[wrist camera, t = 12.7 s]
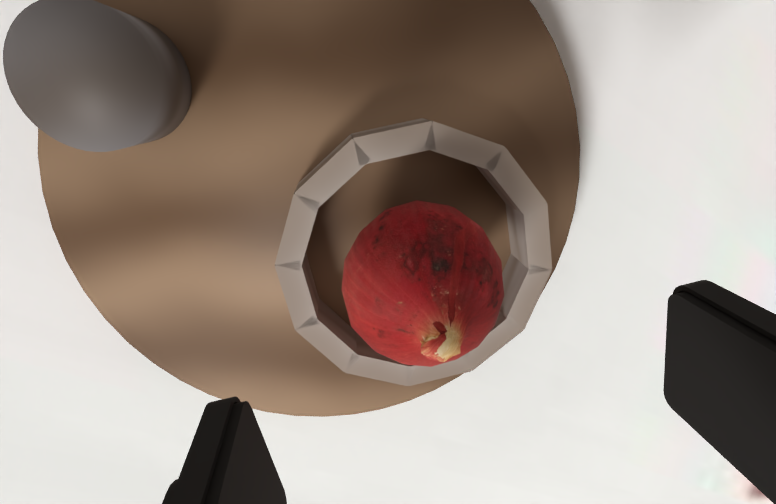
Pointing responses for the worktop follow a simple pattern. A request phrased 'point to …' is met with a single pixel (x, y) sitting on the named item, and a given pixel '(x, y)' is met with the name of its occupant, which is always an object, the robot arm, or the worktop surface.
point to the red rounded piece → (422, 284)
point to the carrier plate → (289, 172)
